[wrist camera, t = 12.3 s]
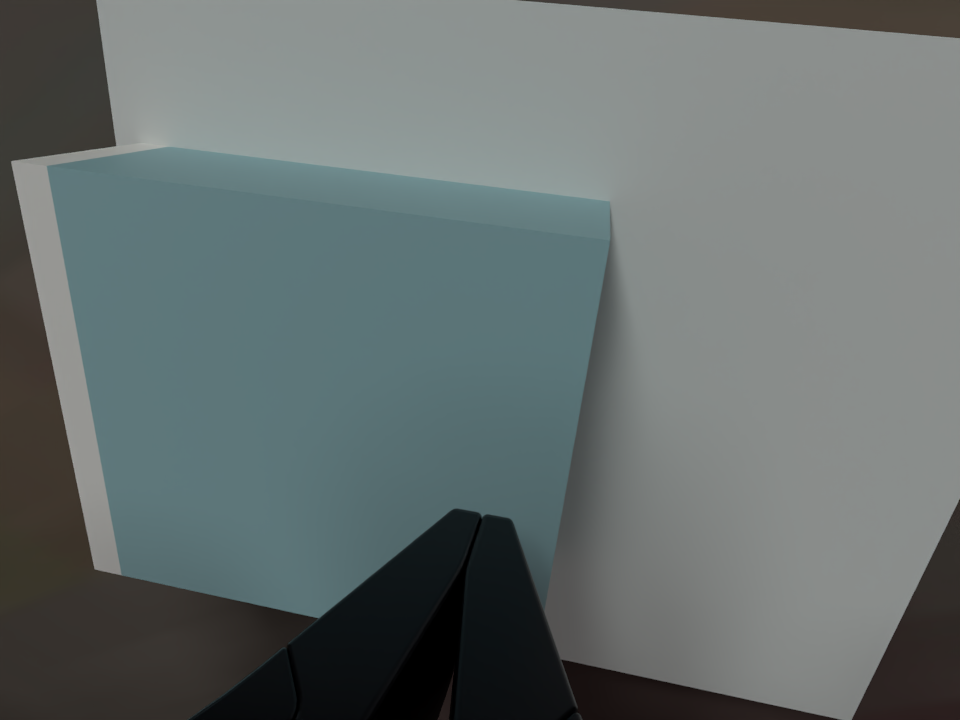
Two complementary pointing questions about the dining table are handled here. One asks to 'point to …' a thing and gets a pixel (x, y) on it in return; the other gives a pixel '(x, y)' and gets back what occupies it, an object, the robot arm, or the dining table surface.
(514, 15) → the mat
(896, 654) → the dining table surface
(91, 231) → the slab
